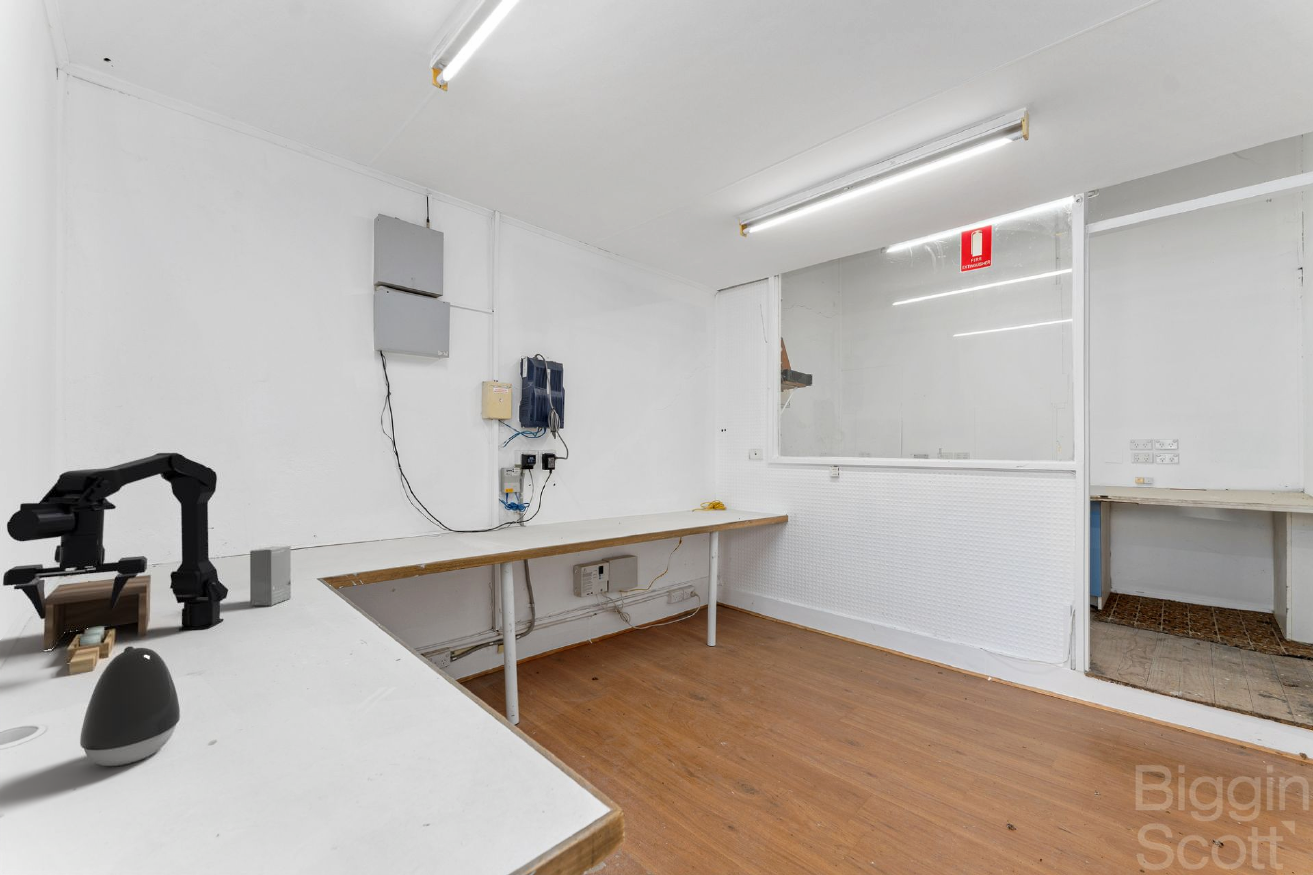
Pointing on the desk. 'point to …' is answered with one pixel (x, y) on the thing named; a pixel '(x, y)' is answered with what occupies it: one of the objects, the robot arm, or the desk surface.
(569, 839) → the desk surface
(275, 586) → the skincare box
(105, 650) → the tray
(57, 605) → the wooden drawer organizer
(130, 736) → the dark grey egg dome
